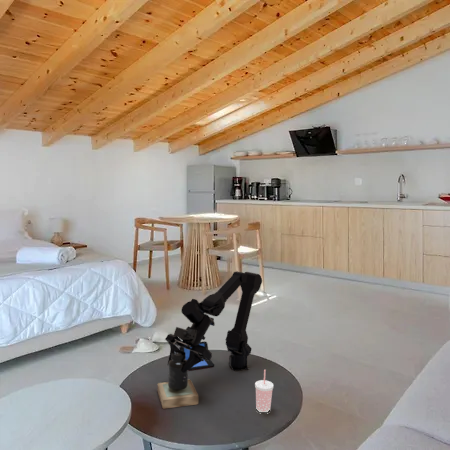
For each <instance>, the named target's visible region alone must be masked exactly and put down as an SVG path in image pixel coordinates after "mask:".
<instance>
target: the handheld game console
mask: <svg viewBox="0 0 450 450" xmlns="http://www.w3.org/2000/svg"><path fill="white" fill-rule="evenodd" d="M199 345H202V346H204V347H206V348H207V349H208V350H209V346H208V342H207V341H204V340H203V341H201V342H200V344H199ZM185 346H186V345H185ZM190 348H191V347H190ZM180 350H181V351H184V352H185V353H186V360H188V358H189V354H190V350H188V349H185V348H183V347H182V348H180ZM203 360H204V359H203ZM214 367H215V364H214V362H213V361H212V360H211V359H210V361H207V360H204V361H201V362H199V363H197V364H196V365H194V366H193V367H191V368H190V369H189V370H188V372H190V371H197V370H204V369H211V368H214Z"/></svg>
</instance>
